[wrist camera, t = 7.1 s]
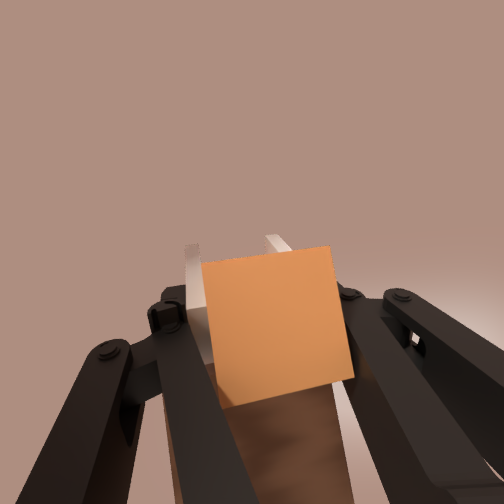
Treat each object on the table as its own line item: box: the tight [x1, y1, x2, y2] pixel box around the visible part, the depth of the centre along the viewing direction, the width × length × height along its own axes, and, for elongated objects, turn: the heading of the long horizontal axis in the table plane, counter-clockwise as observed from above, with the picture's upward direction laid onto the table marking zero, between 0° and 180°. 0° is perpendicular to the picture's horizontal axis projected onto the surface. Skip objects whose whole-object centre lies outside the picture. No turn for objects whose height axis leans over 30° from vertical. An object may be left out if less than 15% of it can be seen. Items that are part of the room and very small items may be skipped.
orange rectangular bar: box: [201, 246, 355, 409], centre depth 19 cm, size 4×22×4 cm, turn 9°
